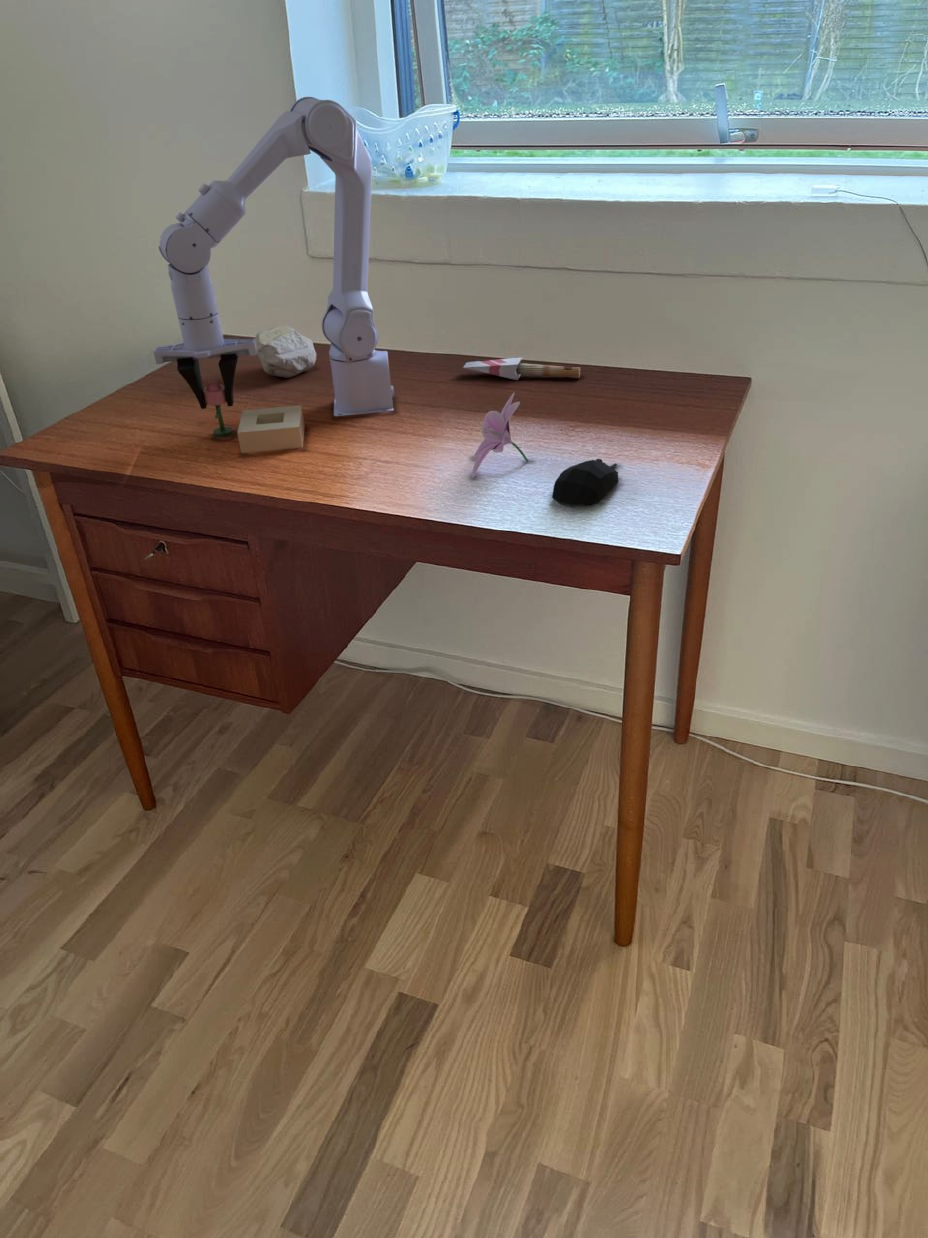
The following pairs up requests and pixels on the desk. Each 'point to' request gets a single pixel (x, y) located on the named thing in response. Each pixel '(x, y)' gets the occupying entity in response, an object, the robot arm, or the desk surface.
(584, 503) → the gaming mouse
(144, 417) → the desk surface
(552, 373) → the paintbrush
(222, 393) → the flower
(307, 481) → the desk surface
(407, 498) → the desk surface
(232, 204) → the robot arm
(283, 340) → the white rock
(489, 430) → the lily
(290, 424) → the beige square socket block
